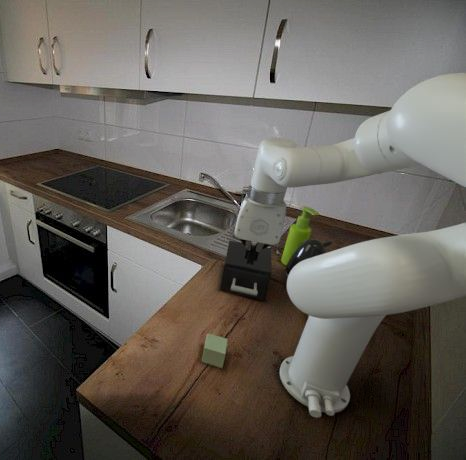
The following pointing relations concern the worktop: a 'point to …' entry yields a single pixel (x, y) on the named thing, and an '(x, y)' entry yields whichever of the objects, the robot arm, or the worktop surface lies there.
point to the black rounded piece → (306, 252)
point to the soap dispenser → (297, 234)
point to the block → (214, 350)
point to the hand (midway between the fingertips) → (249, 261)
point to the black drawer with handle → (245, 282)
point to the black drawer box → (237, 260)
